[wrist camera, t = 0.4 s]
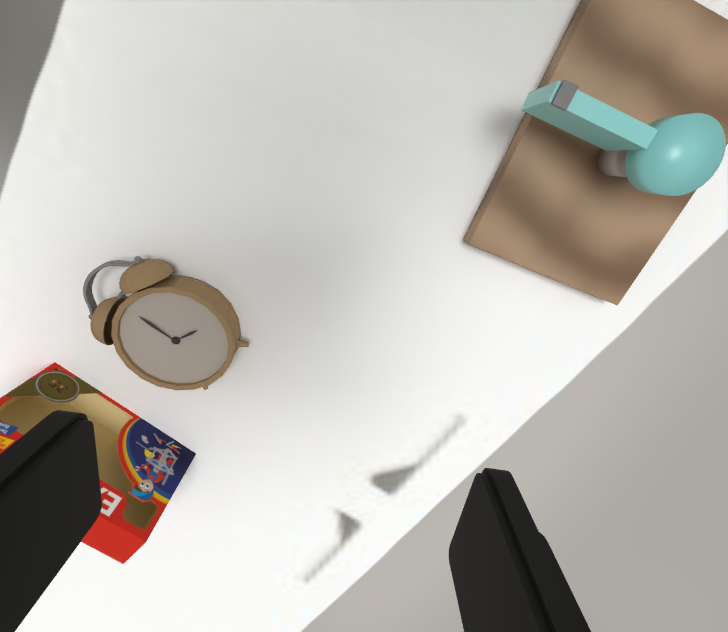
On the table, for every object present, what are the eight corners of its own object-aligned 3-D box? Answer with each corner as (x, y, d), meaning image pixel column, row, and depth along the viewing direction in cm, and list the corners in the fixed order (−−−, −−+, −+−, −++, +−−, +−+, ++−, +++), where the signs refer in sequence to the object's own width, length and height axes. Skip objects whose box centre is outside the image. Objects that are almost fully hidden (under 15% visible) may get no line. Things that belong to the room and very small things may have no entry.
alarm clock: (192, 410, 41) (41, 330, 34) (203, 380, 45) (70, 304, 38) (260, 340, 38) (108, 239, 31) (264, 316, 42) (132, 222, 36)
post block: (597, -32, 29) (664, -88, 23) (763, 60, 31) (867, 34, 25) (463, 239, 37) (485, 256, 30) (605, 298, 39) (653, 326, 33)
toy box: (196, 453, 46) (146, 542, 35) (177, 472, 47) (123, 564, 37) (55, 361, 42) (-53, 432, 31) (38, 385, 43) (-72, 461, 32)
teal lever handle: (687, 136, 29) (746, 131, 25) (646, 200, 31) (694, 207, 26) (543, 63, 27) (578, 44, 23) (507, 136, 29) (534, 132, 24)
